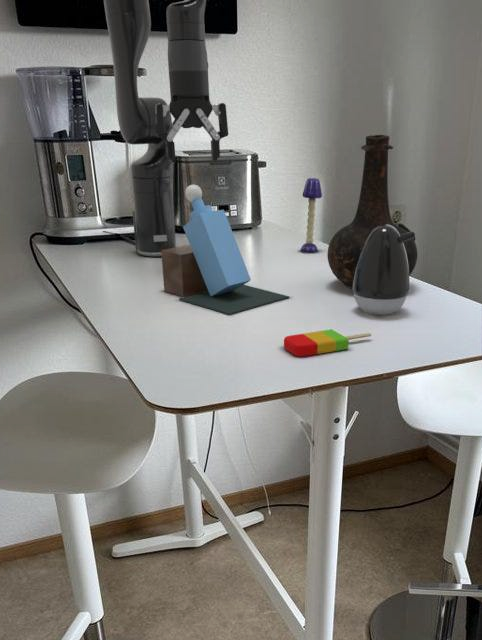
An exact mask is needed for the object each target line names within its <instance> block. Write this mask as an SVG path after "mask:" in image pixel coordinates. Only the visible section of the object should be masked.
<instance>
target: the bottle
mask: <svg viewBox="0 0 482 640" xmlns="http://www.w3.org/2000/svg"><path fill="white" fill-rule="evenodd" d="M184 195H185V198H186V200H187V201H188V202H189V203H191V206H192V209H193V210H192V211H191V212H190V213H189V217H190V219H191V220H190V221H188V222H187V223H185V224H184V225H183V226H182V228H183V230H184V233H185V236H186V238H187V241H188V243H189V245H190V246H191V248H192V251H193V253H194V256H195V259H196V261H197V264H198V266H199V269H200V271H201V274H202V276H203V279H204V281H205V284H206V286H207V289H208V291H209V294H210V296H211V297H212V296H216V295H220V294H224V293H228V292H231V291H234V290H236V289H237V288H239V287H241V286H242V285H247V283H249V282H251V280H252V279H251V277H250V274H249V272H248V269H247V266H246V264H245V261H244V258H243V255H242V253H241V250H240V248H239V245H238V242H237V240H236V238H235V235H234V232H233V230H232V227H231V224H230V221H229V219H228V217H227V214H226V212H225V210H224V209H219V210H213V208H212V205H205V203H204V200H203V198H202V197H203V190H202V188H201V187H200V186H199V185H197V184H190V185H188V186H187V187H186V188H185V191H184ZM208 291H207V292H208Z"/></svg>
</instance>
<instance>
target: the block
mask: <svg viewBox="0 0 482 640" xmlns="http://www.w3.org/2000/svg"><path fill="white" fill-rule="evenodd" d="M161 255H162V256H161V267H162V279H163V292H166V293H169V294H173V295H176V296H179V297H181V298H184V297H188V296H192V295H196V294H200V293H204V292H208V289H207V286H206V284H205V281H204V279H203V276H202V274H201V271H200V269H199V266H198V264H197V261H196V259H195V256H194V253H193V251H192V248H191V246H190V244H187V245H181V246H176V247H175V248H170V249H165V250H161Z"/></svg>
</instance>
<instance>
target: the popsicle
mask: <svg viewBox="0 0 482 640" xmlns="http://www.w3.org/2000/svg"><path fill="white" fill-rule="evenodd" d="M368 337H372V333H370V332H365V333H359V334H353V335H346V336H345V335H342V334H340V333H339V332H337V331H336V330H334V329H332V328H331V329H325V330H318V331H311V332H305V333H298V334H291V335H287V336H285V337H284V339H283V348H284V350H286V351H288V352H289V353H291V354H292V355H293V356H295V357H309V356H314V355H319V354H326V353H333V352H338V351H344V350H347V349H348V348H349V344H350V343H349V341H350V340H356V339H362V338H368Z"/></svg>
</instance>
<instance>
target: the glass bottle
mask: <svg viewBox="0 0 482 640" xmlns="http://www.w3.org/2000/svg"><path fill="white" fill-rule="evenodd" d="M390 138H391V137H390V136H389V135H386V134H374V135H373V134H371V135H367V136H366V135H365V144H364V145H362V146H361V147H360V149H361V150H363V151H364V160H363V169H362V177H361V178H362V179H361V186H360V192H359V198H358V204H357V208H356V212H355V215H354V217H353V219H352V221H351V222H350V223H349V224H347V225H345V226H343V227H342V228H340V229H339V230H338V231H336V233H335V234H334V235H333V236H332V237H331V239H330V241H329V243H328V248H327V255H326V256H327V263H328V265H329V268H330V270H331V272H332V274H333V275H334V276H335V278H336V279H337V280H338V282H340V283H341V284H342V285H344V286H346V287H347V288H350V289H353V280H354V275H355V270H356V266H357V262H358V259H359V256H360V253H361V251H362V248H363V246H364V244H365V242H366V240H367V238H368V236H369V235H370V233H371V232H372V230H373V229H374V228H376V227H377V226H380V225H384V224H387V225H391V226H393V227H394V228H396V229H397V231H398V232H399V234H400V235H401V234H404V233H408V232H412V231H411V230H410V229H409V228H408V227H407V226H406V225H405V224H403V223H398V225H397V224H395V222H394V221H393V218H392V215H391V210H390V203H389V189H388V188H389V182H388V181H389V180H388V174H389V173H388V172H389V166H388V165H389V150H393V149H394V146H392V145H391V144H389V143H390ZM403 244H404V247H405V250H406V254H407V259H408V266H409V277H410V276H411V275H412V273H413V271H414V270H415V268H416V266H417V262H418V247H417V243H416V236H415V237H414V238H411V239H410V240H407V241H405V242H403Z"/></svg>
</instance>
